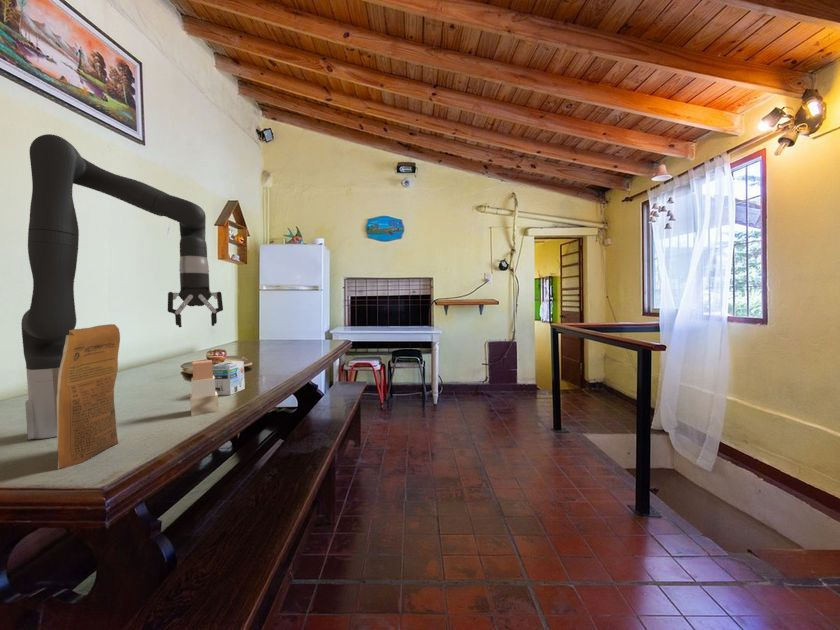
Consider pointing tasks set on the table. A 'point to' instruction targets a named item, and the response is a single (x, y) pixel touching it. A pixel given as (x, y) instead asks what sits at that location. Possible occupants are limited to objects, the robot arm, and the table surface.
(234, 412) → the table surface
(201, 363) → the terracotta block
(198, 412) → the tower base block
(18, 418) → the table surface
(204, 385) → the tower top block
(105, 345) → the pancake mix bag
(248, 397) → the table surface
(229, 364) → the light bulb box
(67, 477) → the table surface
